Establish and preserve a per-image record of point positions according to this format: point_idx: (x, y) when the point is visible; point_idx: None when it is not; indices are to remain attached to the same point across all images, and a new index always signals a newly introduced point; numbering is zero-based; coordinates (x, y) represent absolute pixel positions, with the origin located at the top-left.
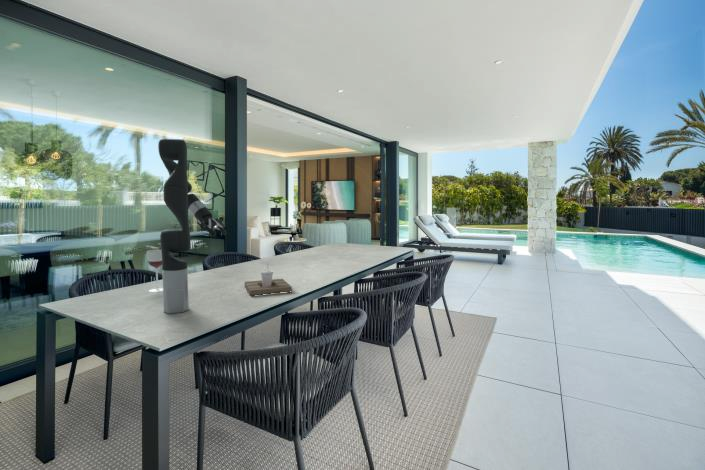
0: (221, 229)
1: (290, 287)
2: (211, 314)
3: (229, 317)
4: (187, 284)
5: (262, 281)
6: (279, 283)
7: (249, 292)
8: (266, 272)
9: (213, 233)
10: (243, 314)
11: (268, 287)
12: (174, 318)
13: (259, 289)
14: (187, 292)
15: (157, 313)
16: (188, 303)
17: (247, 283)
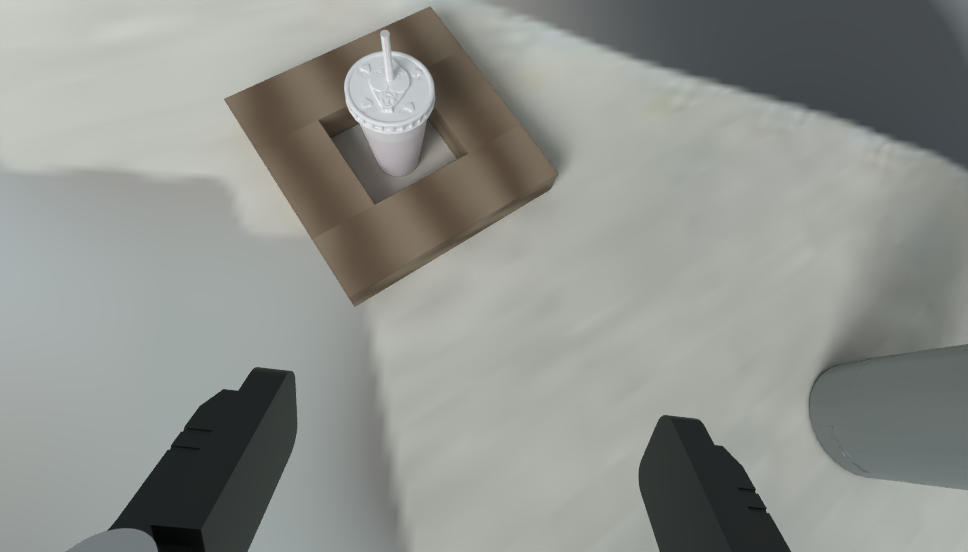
0: (221, 539)
1: (434, 13)
2: (838, 231)
3: (837, 150)
4: (958, 349)
5: (417, 145)
6: None
7: (531, 195)
8: (429, 77)
9: (722, 456)
10: (789, 117)
11: (471, 107)
12: None
13: (525, 136)
14: (914, 354)
15: None
16: (848, 366)
17: (397, 256)
